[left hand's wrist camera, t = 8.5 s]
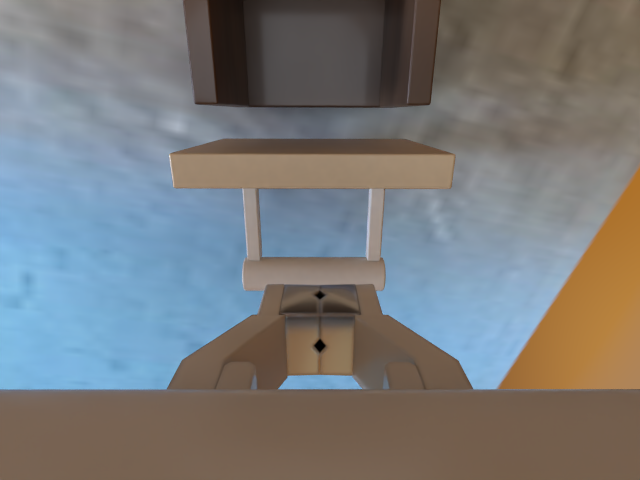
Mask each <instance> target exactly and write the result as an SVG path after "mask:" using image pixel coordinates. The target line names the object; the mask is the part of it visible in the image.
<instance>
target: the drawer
mask: <svg viewBox="0 0 640 480" xmlns="http://www.w3.org/2000/svg"><path fill="white" fill-rule="evenodd" d="M440 4H441V0H183V5H184V15H185V24H186V33H187V42H188V51H189V60H190V69H191V78H192V87H193V97H194V103H195V104H198V105H213V106H228V107H344V108H393V107H408V106H423V105H430V103H431V93H432V83H433V73H434V63H435V54H436V44H437V34H438V24H439V14H440ZM169 158H170V165H171V173H172V180H173V186H174V188H234V189H243V203H244V217H245V231H246V245H247V257H246V258H245V260H244V263H243V269H242V282H243V287H244V290H246V291H264V290H265V286H266V285H267V284H302V285H339V284H373V285H374V287H375V290H376V291H382V290H383V289H384V286H385V264H384V260H383V258H382V257H380V256H381V241H382V225H383V210H384V195H385V189H450V188H451V187H452V179H453V171H454V164H455V154H452V153H449V152H446V151H442V150H439V149H436V148H433V147H429V146H426V145H423V144H419V143H416V142H413V141H410V140H406V139H221V140H217V141H214V142H210V143H206V144H203V145H199V146H195V147H192V148H188V149H184V150H181V151H177V152H173V153H170V154H169ZM258 189H369V204H368V223H367V243H366V257H262V243H261V225H260V208H259V190H258Z"/></svg>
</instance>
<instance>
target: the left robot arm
mask: <svg viewBox="0 0 640 480" xmlns="http://www.w3.org/2000/svg"><path fill="white" fill-rule="evenodd" d="M290 375H350V376H353V378H354V379H355V381H356V382H357V383H358V384H359V385H360V387H361V388H362V389H278V388H279V387H280V386H281V384H282V383H283V382H284V381H285V380H286V378H287V376H290ZM0 480H640V389H473V388H472V386H471V384H470V382H469V380H468V378H467V376H466V374H465V372H464V371H463V369H462V367H461V365H460V363H459V361H458V360H457V359H455V358H453V357H452V356H450V355H449V354H447V353H446V352H444V351H443V350H441V349H440V348H438V347H437V346H435V345H433V344H432V343H430V342H429V341H427V340H426V339H424V338H423V337H421V336H420V335H418V334H417V333H415V332H413V331H412V330H410V329H409V328H407V327H406V326H404V325H403V324H401V323H400V322H398V321H396V320H395V319H393V318H392V317H390V316H389V315H383V314H382V310H381V307H380V304H379V300H378V297H377V294H376V290H375V287H374V285H373V284H339V285H302V284H267V285H266V286H265V290H264V293H263V297H262V300H261V304H260V307H259V310H258V314H257V315H251V316H250V317H248V318H247V319H245V320H243V321H242V322H240V323H239V324H237V325H236V326H234V327H233V328H231V329H230V330H228V331H226V332H225V333H223V334H222V335H220V336H219V337H217V338H216V339H214V340H213V341H211V342H209V343H208V344H206V345H205V346H203V347H202V348H200V349H199V350H197V351H196V352H194V353H192V354H191V355H189V356H188V357H186V358H185V359H183V360H182V361H181V363H180V365H179V367H178V369H177V371H176V373H175V375H174V376H173V378H172V380H171V382H170V384H169V386H168V388H167V389H0Z"/></svg>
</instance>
